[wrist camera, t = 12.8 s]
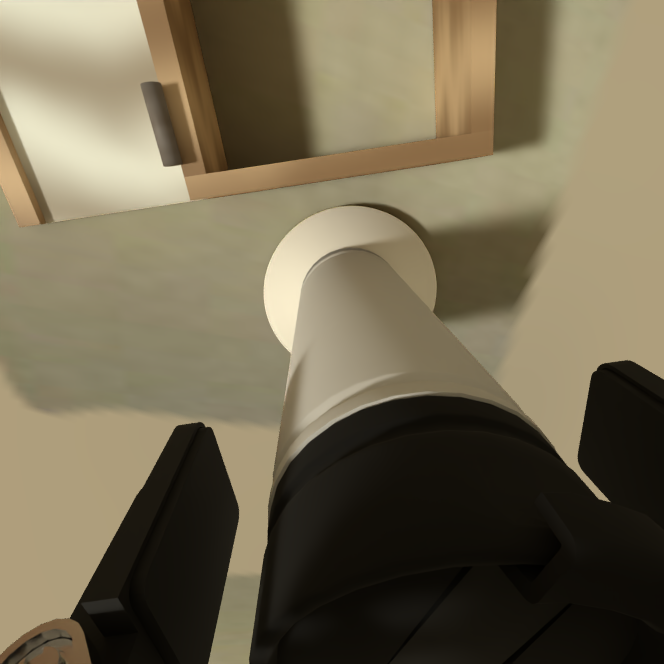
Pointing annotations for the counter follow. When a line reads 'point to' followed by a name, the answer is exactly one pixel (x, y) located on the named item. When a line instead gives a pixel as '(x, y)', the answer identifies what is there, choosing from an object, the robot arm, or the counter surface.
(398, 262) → the saucer
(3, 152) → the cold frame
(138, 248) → the counter surface
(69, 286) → the counter surface
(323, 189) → the counter surface
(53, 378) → the counter surface
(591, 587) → the travel mug
